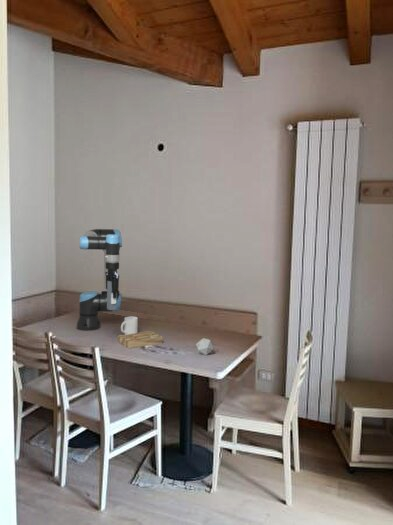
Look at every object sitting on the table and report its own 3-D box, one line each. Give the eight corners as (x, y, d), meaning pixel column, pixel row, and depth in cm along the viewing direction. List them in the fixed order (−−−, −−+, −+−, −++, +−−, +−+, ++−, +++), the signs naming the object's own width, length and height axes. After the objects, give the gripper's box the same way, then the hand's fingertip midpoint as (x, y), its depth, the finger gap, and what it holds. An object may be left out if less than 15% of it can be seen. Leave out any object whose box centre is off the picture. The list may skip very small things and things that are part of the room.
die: (198, 351, 264) (191, 339, 259) (212, 344, 264) (206, 332, 259) (202, 361, 257) (195, 349, 252) (217, 353, 257) (210, 341, 252)
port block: (117, 342, 274) (118, 335, 273) (150, 337, 286) (150, 330, 286) (129, 348, 262) (129, 341, 262) (162, 343, 275) (162, 336, 275)
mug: (124, 337, 284) (125, 321, 282) (116, 334, 289) (116, 318, 288) (140, 334, 292) (140, 318, 291) (131, 331, 298) (131, 315, 297)
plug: (106, 308, 266) (107, 281, 264) (113, 308, 268) (113, 280, 266) (109, 310, 263) (110, 282, 261) (116, 309, 265) (116, 281, 263)
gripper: (100, 260, 267) (99, 300, 270) (112, 264, 253) (112, 306, 256) (112, 260, 271) (111, 299, 274) (125, 263, 258) (124, 305, 260)
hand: (111, 302), depth 265 cm, fingers closed on plug, 4 cm apart
